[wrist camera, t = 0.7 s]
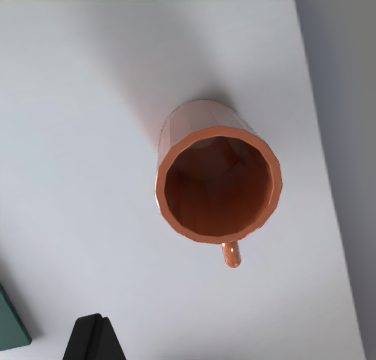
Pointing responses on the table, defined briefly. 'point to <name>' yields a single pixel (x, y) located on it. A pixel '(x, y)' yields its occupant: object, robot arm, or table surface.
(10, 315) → the mat
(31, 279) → the table surface
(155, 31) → the table surface
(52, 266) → the table surface
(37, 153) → the table surface
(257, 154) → the tea mug
